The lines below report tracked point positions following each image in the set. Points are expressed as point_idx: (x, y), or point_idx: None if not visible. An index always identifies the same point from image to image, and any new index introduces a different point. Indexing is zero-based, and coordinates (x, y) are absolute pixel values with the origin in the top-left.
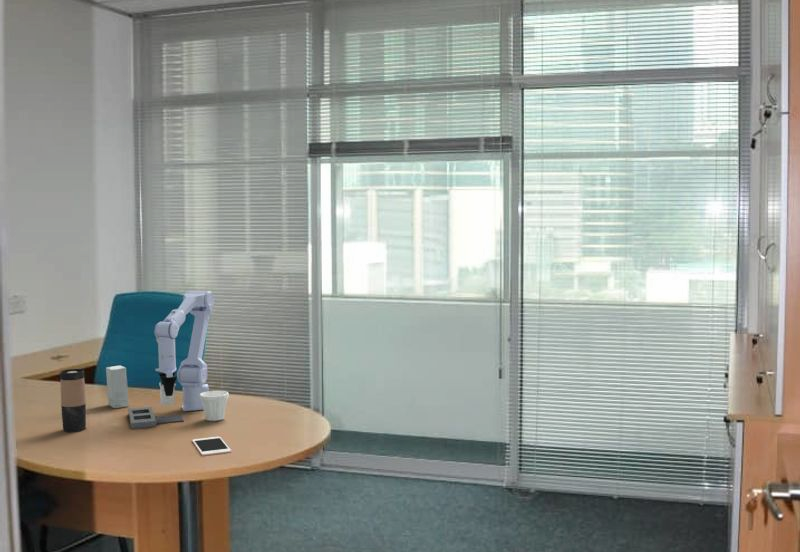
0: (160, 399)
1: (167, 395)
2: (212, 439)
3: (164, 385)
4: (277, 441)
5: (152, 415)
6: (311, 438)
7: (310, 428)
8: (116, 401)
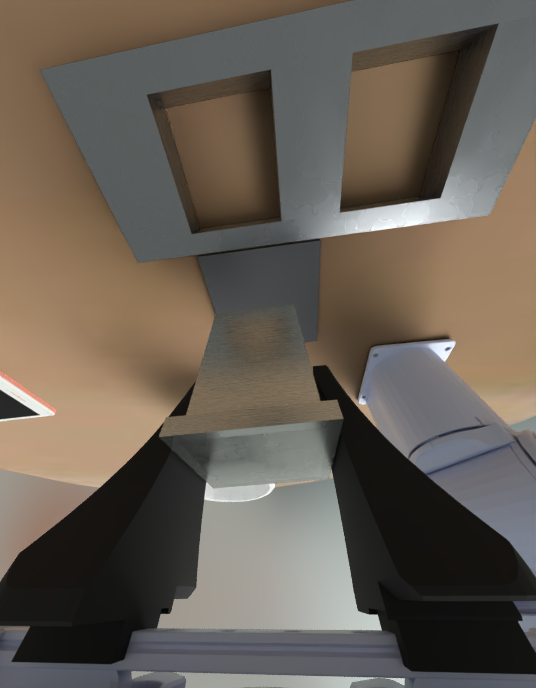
0: (274, 320)
1: None
2: (17, 405)
3: (135, 458)
4: (69, 463)
5: (259, 236)
6: (101, 483)
7: None
8: None
